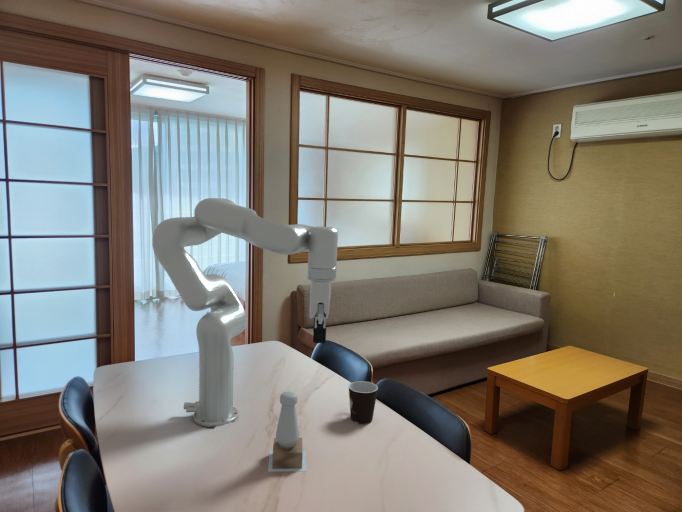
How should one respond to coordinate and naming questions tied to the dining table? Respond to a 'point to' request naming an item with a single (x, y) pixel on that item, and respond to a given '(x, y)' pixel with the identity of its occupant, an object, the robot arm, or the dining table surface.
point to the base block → (287, 456)
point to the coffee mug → (362, 401)
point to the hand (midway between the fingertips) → (319, 337)
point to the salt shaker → (288, 421)
